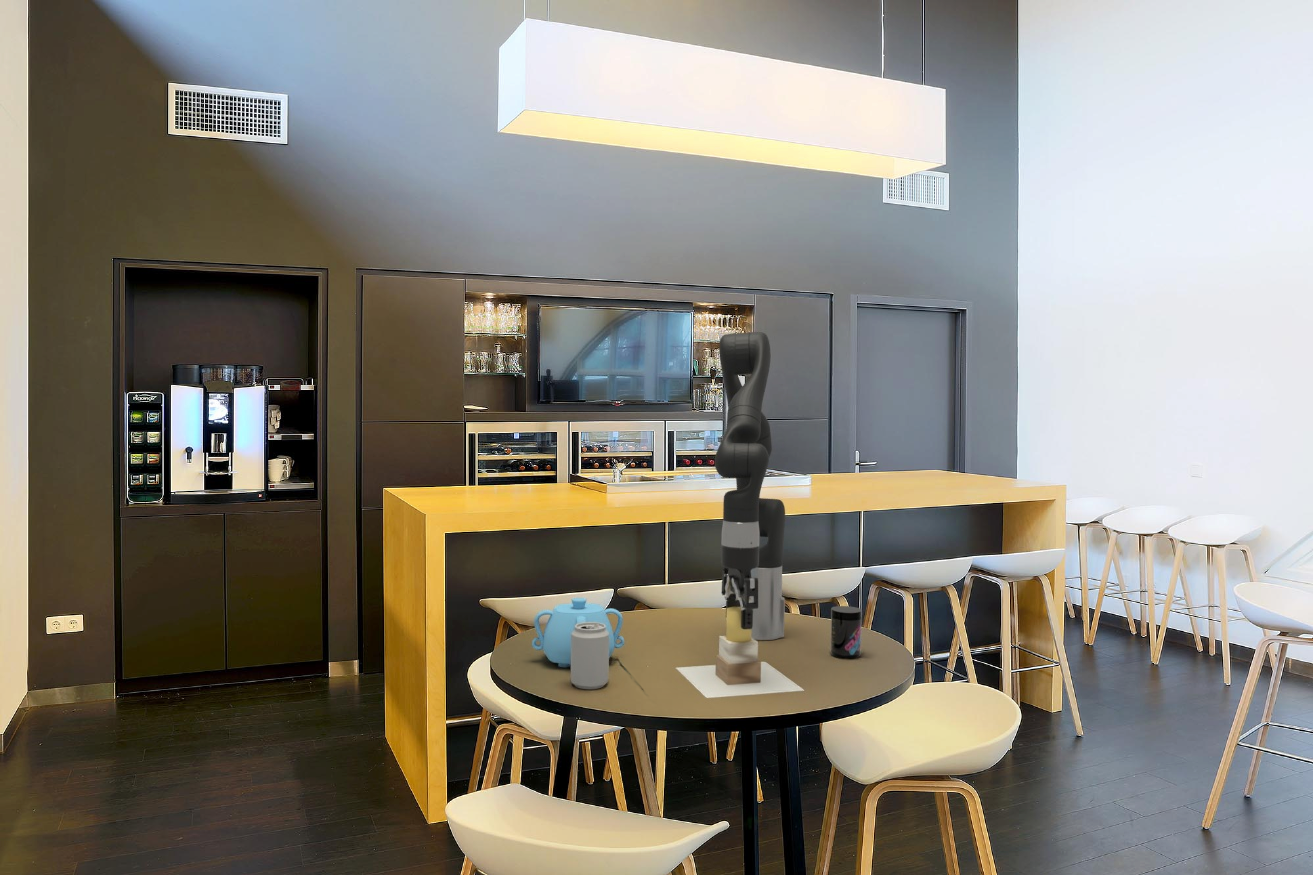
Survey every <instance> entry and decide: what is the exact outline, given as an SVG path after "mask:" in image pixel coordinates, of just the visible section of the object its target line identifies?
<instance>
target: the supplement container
mask: <svg viewBox="0 0 1313 875" xmlns="http://www.w3.org/2000/svg"><path fill="white" fill-rule="evenodd" d="M862 615H863V610H862V608H859V607H855V606H849V605H839V606H832V607H831V609H830V617H831V618H830V651H829V652H830V655H831V656H832V657H835V658H836V659H837V658H838V659H842V660H854V659H857V658H859V657H861V652H862V651H861V650H862V617H863V616H862Z"/></svg>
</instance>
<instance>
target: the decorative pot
mask: <svg viewBox="0 0 1313 875" xmlns="http://www.w3.org/2000/svg"><path fill="white" fill-rule="evenodd" d="M608 614H613V615H616V617H617V624H616V628H615V631H613V626H612V625H611V621H610V619H609V617H608ZM546 615H548V616H549V618H548V620H547V622H546V625H545V628H544V631H543V632H542V629H541V626H540V618H541V617H543V616H546ZM623 618H624V617H623V615H622V613H621V612H620V611H619V610H617V609H616V608H611V607H610V608H605V609H604V607H603V606H602V605H601V604H597V603H590V602H587V598H585V597H574V598H572V599H571V602H570V603H560V604H557V605H555V606H554V608H553V609H552V610H550V609H544V610H541V611H539V612H538V613H537V614H536V615H535V616H534V619H533V624H534V628H535V631H536V634H537V637H534V638H533V639H532V641H531V647H532V648H533V649H534V650H537V651H542V650H543V652H544V655H545V656H546V657H547V658H548V659H547V660H548V661H550V662H551V663H555V664H558V667H560V668H569V667H571V633H572V632H573V631H574V629H575V627H574V626H575V625H576V624H578V623H583V622H598V623H603V624H605V625H606V628H605V629H606V630H607V631H608V632H609V659H610V657H611V656H612V655H613V653H614V650H615V649H621V648H623V647H624V645H625V643H626V642H625V638H624V637H623V636H622V635H619V634H620V632H621V629H622V627H623V623H624V619H623ZM618 640H620V642H619V643H618V642H617V641H618ZM538 641H539V645H538V644H537V642H538Z"/></svg>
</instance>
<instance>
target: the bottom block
mask: <svg viewBox="0 0 1313 875" xmlns="http://www.w3.org/2000/svg"><path fill="white" fill-rule="evenodd" d="M761 662H762V661H760V660H758V662H751V663H736V664H729V663H727V662H726V661H725V660H724V659H722V658H721V657H720V656H719V654H715V665H716V673H715V675H716V676H718V677H719V678H720V679H721V680H722V681H723V682H724V683H726V684H727V685H735V684H748V683H761Z"/></svg>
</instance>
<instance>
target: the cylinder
mask: <svg viewBox="0 0 1313 875" xmlns="http://www.w3.org/2000/svg"><path fill="white" fill-rule="evenodd" d="M725 621H726V626H725V628H726V629H725V636H726V640H728V641H731V642H739V643H742V642H749V641H751V629H742V628H741V606H737V607H729V608H727V618H726V620H725Z"/></svg>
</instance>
